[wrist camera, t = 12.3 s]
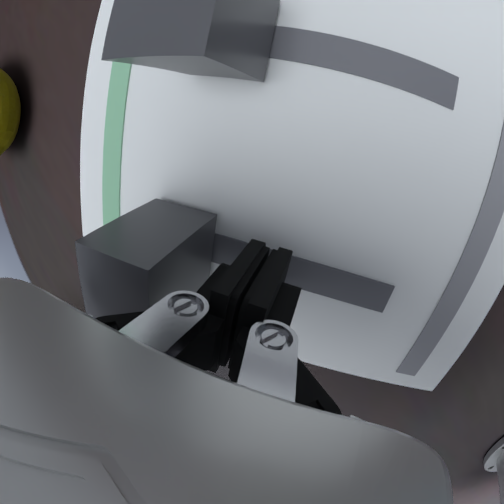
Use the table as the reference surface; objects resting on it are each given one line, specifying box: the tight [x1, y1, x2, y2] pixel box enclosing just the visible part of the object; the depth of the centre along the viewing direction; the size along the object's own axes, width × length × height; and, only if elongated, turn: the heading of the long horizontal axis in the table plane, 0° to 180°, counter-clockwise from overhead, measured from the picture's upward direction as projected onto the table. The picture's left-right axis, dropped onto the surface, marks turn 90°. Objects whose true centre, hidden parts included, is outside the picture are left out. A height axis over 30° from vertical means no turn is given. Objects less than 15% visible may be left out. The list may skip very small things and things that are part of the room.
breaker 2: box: [75, 198, 217, 318], centre depth 11 cm, size 3×4×5 cm
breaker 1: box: [101, 0, 280, 82], centre depth 7 cm, size 3×4×5 cm
